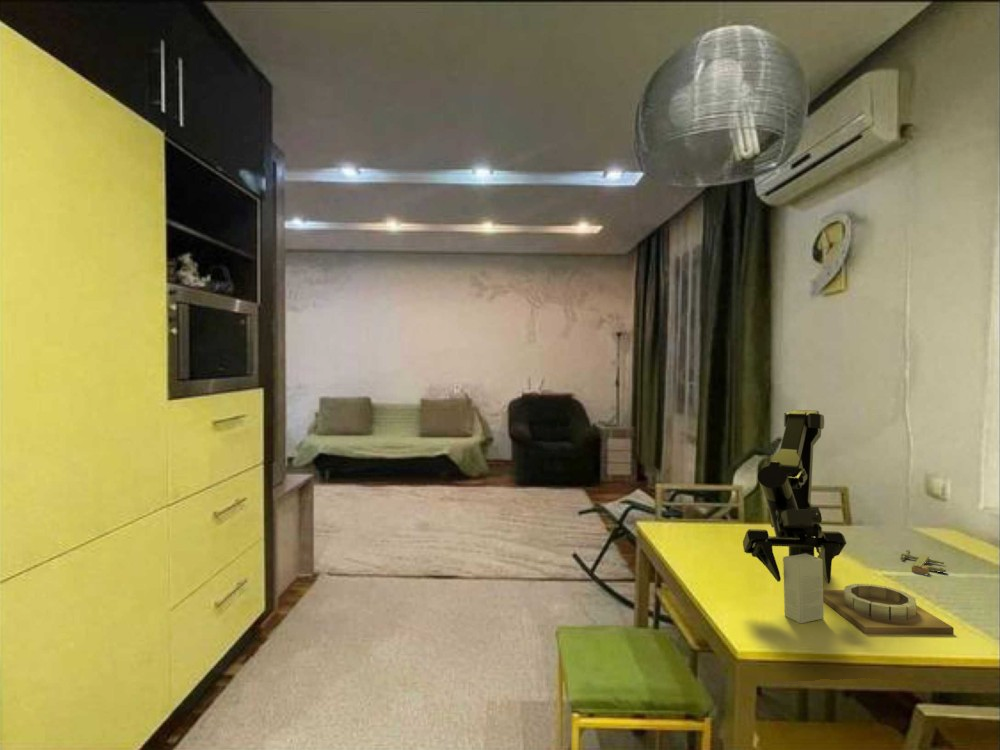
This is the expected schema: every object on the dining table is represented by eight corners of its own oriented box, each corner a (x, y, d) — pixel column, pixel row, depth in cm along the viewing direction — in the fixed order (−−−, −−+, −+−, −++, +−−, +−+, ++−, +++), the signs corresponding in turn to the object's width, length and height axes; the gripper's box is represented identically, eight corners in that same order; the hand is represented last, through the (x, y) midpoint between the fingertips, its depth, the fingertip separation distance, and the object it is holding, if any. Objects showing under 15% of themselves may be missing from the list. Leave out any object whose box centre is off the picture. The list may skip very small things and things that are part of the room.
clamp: (942, 571, 134) (892, 561, 141) (942, 580, 134) (892, 570, 141) (952, 555, 145) (905, 547, 152) (953, 564, 145) (905, 555, 152)
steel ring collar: (832, 595, 122) (832, 583, 122) (890, 595, 122) (890, 583, 122) (866, 620, 110) (866, 607, 110) (930, 620, 110) (930, 607, 110)
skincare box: (806, 611, 117) (806, 552, 117) (824, 619, 113) (823, 559, 113) (783, 615, 115) (782, 556, 115) (800, 624, 111) (799, 562, 111)
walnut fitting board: (816, 595, 125) (815, 590, 125) (891, 595, 125) (891, 590, 124) (865, 633, 107) (865, 627, 107) (953, 633, 107) (953, 627, 106)
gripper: (746, 491, 120) (762, 560, 109) (841, 492, 118) (868, 564, 107) (736, 518, 128) (751, 586, 117) (826, 521, 125) (849, 590, 115)
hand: (803, 581), depth 114 cm, fingers open, 9 cm apart
